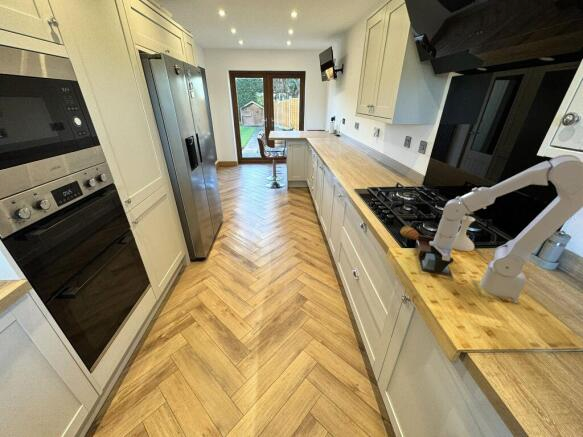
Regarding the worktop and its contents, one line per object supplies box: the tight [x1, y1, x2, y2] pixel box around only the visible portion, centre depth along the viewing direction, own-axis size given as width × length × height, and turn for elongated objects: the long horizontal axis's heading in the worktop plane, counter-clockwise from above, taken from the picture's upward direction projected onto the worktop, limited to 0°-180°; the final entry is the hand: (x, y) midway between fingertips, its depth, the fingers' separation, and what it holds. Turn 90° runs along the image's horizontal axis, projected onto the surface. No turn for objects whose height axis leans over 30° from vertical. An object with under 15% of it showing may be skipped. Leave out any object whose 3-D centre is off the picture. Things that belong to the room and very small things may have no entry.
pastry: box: [399, 225, 421, 241], centre depth 108 cm, size 9×7×4 cm
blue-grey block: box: [422, 253, 450, 273], centre depth 86 cm, size 8×4×4 cm, turn 71°
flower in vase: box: [452, 206, 487, 252], centre depth 97 cm, size 13×11×25 cm
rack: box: [414, 234, 454, 278], centre depth 90 cm, size 10×18×6 cm, turn 161°
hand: (435, 265), depth 86 cm, fingers open, 7 cm apart
